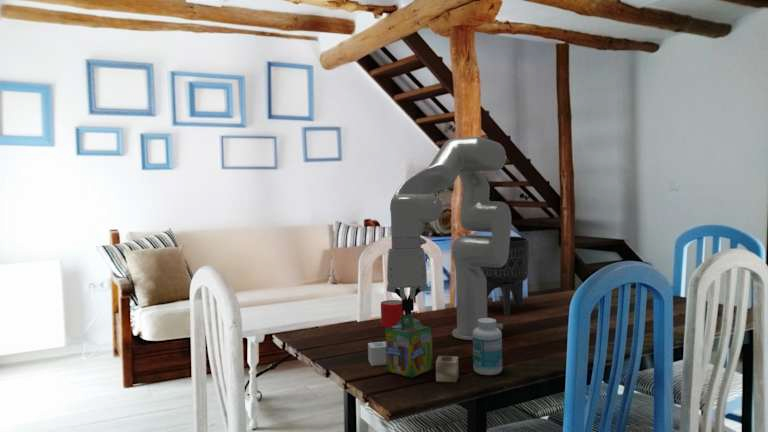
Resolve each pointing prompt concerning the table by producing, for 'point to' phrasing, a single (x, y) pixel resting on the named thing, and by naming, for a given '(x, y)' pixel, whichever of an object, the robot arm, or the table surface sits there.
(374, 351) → the marked block white
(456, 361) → the marked block beech
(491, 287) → the planter
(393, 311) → the mug
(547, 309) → the table surface
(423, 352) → the chalk box
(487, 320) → the pill bottle
